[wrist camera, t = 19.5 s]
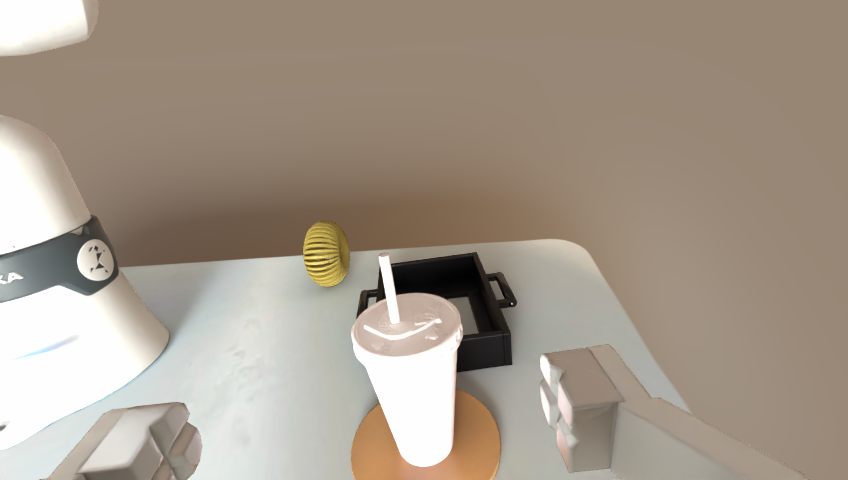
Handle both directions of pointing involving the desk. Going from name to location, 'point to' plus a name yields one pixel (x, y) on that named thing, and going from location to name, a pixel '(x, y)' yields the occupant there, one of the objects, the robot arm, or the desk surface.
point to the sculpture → (326, 253)
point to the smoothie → (412, 366)
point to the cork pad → (454, 476)
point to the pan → (457, 281)
